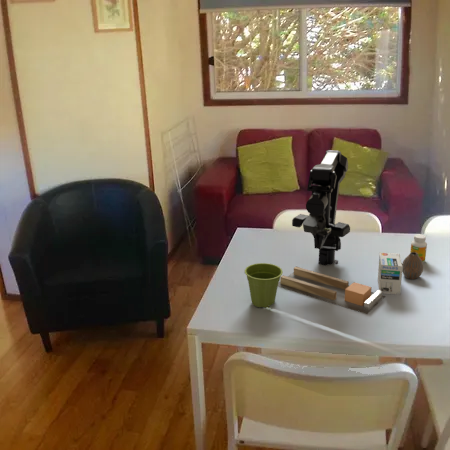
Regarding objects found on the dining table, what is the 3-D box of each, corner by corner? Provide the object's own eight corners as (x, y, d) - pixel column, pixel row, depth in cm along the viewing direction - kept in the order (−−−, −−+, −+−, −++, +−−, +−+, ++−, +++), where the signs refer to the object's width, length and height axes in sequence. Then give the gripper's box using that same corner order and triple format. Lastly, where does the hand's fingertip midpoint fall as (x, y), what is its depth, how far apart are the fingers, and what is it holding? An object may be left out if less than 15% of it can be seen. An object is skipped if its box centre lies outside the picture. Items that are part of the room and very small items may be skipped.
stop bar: (377, 296, 171) (377, 289, 170) (381, 298, 170) (382, 291, 169) (363, 309, 164) (364, 302, 163) (368, 311, 163) (368, 303, 162)
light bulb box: (400, 297, 172) (403, 266, 168) (378, 295, 173) (381, 265, 170) (397, 282, 182) (400, 252, 178) (376, 280, 183) (379, 251, 179)
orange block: (353, 293, 173) (353, 282, 172) (370, 298, 170) (371, 287, 168) (344, 300, 169) (345, 289, 168) (362, 306, 166) (363, 294, 164)
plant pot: (271, 315, 163) (271, 282, 159) (238, 306, 169) (237, 274, 165) (288, 299, 172) (289, 267, 168) (256, 290, 178) (255, 260, 174)
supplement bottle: (408, 262, 196) (411, 237, 193) (410, 256, 201) (412, 232, 197) (424, 264, 194) (427, 239, 191) (425, 258, 199) (428, 234, 195)
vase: (423, 274, 187) (425, 251, 184) (420, 282, 181) (423, 258, 178) (402, 270, 190) (404, 248, 187) (399, 279, 184) (401, 255, 181)
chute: (296, 272, 191) (296, 263, 190) (385, 298, 171) (386, 289, 170) (274, 287, 180) (274, 278, 179) (366, 316, 161) (367, 307, 160)
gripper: (283, 206, 174) (283, 250, 180) (336, 217, 163) (334, 264, 169) (300, 197, 182) (299, 239, 188) (352, 207, 171) (349, 252, 177)
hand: (319, 248), depth 180 cm, fingers closed
